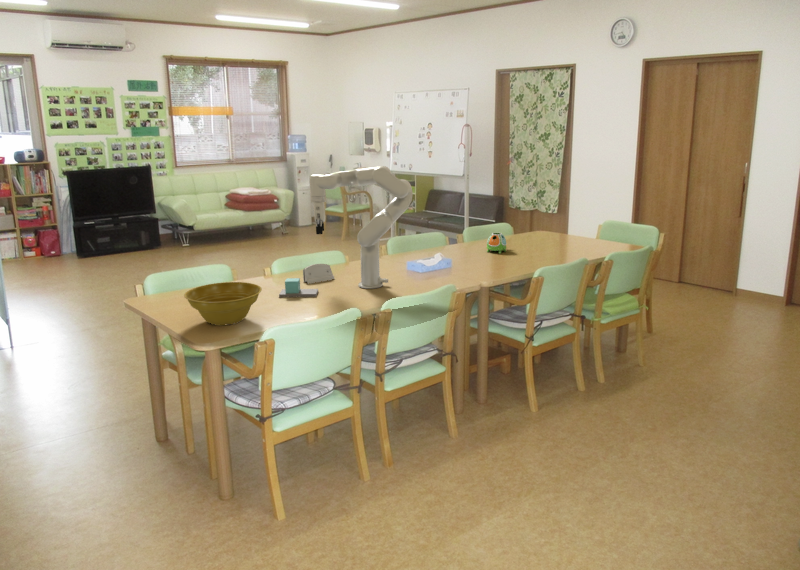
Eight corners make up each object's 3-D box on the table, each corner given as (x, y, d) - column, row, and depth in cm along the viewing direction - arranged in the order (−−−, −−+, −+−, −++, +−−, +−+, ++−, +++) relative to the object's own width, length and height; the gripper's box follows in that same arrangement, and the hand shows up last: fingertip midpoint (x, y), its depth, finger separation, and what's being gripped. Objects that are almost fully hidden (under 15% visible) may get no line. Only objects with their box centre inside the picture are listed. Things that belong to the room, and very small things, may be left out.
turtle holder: (510, 249, 428) (511, 231, 425) (502, 254, 412) (503, 235, 409) (492, 247, 433) (493, 230, 430) (483, 252, 418) (484, 234, 415)
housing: (300, 289, 327) (299, 278, 325) (298, 293, 321) (297, 281, 319) (287, 290, 327) (286, 278, 325) (285, 293, 321) (284, 281, 319)
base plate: (318, 291, 329) (317, 281, 328) (316, 296, 319) (315, 287, 318) (282, 292, 329) (281, 282, 328) (279, 297, 319) (278, 287, 318)
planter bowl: (202, 338, 262) (199, 305, 258) (176, 318, 287) (173, 289, 284) (276, 322, 280) (274, 292, 276) (245, 306, 305) (243, 278, 302)
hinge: (307, 283, 345) (303, 265, 345) (303, 285, 349) (300, 266, 349) (335, 279, 354) (331, 261, 354) (331, 280, 358) (327, 262, 358)
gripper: (324, 201, 322) (326, 235, 327) (327, 196, 339) (328, 229, 343) (309, 201, 322) (311, 235, 327) (312, 197, 339) (314, 229, 343)
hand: (320, 232), depth 335 cm, fingers open, 9 cm apart
